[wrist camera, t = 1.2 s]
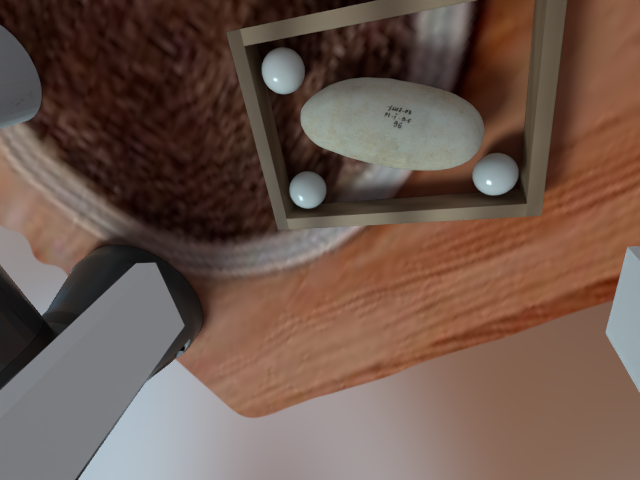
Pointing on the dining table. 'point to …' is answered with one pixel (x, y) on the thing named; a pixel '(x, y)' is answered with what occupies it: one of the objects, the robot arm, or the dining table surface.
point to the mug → (17, 82)
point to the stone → (394, 123)
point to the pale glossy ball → (307, 189)
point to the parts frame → (409, 209)
